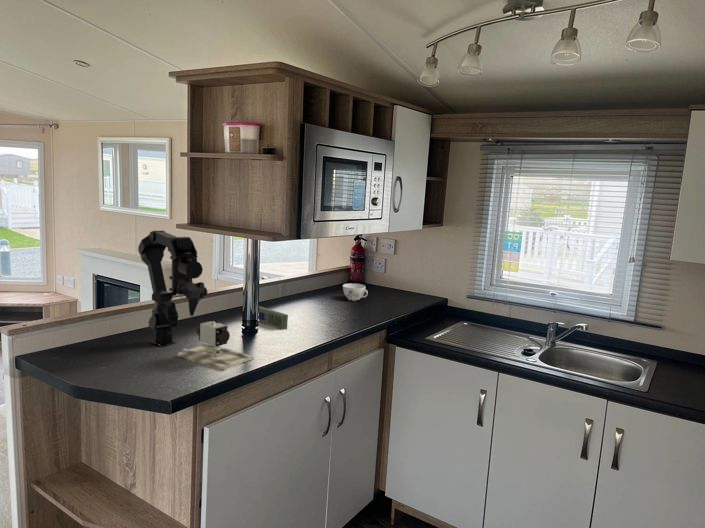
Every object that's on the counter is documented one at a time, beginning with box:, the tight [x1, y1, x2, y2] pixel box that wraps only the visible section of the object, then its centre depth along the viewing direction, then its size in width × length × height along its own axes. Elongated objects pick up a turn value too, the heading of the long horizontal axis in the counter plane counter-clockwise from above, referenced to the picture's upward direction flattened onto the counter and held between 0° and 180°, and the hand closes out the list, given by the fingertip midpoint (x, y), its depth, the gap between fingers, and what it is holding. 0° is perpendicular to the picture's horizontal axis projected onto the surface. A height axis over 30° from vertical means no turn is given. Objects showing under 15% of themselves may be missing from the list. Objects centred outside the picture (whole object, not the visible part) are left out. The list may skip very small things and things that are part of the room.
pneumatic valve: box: [196, 320, 231, 357], centre depth 174 cm, size 6×12×12 cm, turn 56°
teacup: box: [342, 282, 369, 302], centre depth 277 cm, size 15×12×8 cm
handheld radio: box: [258, 305, 289, 331], centre depth 222 cm, size 7×3×25 cm
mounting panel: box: [177, 342, 255, 371], centre depth 176 cm, size 22×14×2 cm, turn 59°
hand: (180, 318), depth 175 cm, fingers open, 9 cm apart
